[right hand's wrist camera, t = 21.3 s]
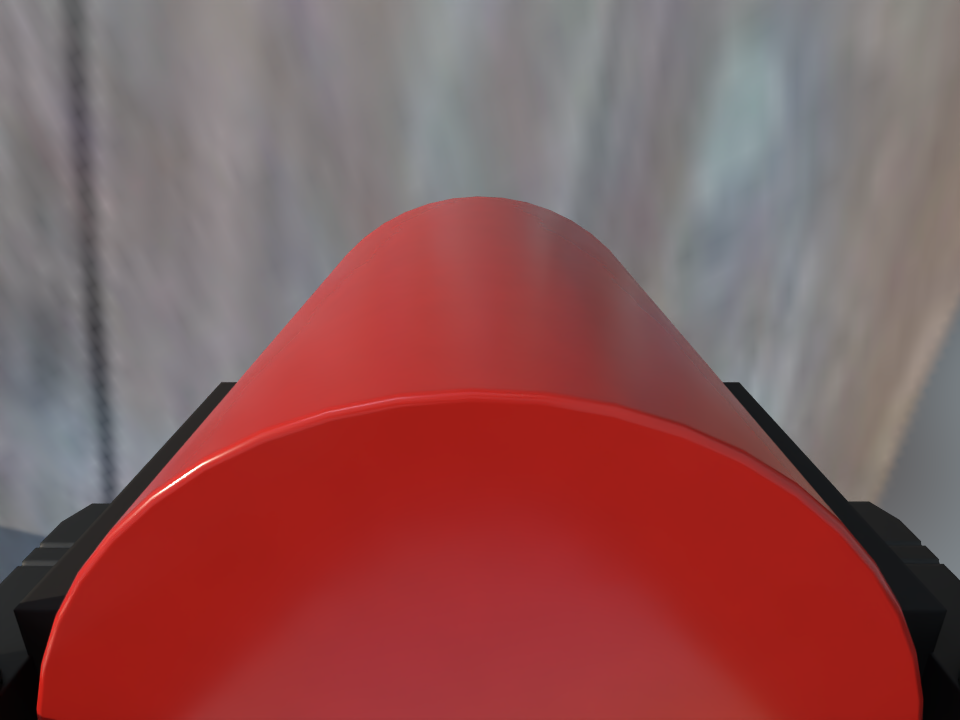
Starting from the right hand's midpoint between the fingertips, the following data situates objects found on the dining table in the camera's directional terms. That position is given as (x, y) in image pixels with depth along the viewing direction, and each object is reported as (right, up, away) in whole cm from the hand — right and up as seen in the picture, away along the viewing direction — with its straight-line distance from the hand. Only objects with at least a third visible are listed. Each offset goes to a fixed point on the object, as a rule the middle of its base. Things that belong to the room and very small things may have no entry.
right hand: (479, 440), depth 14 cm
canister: (0, +1, +4) cm, 4 cm away
